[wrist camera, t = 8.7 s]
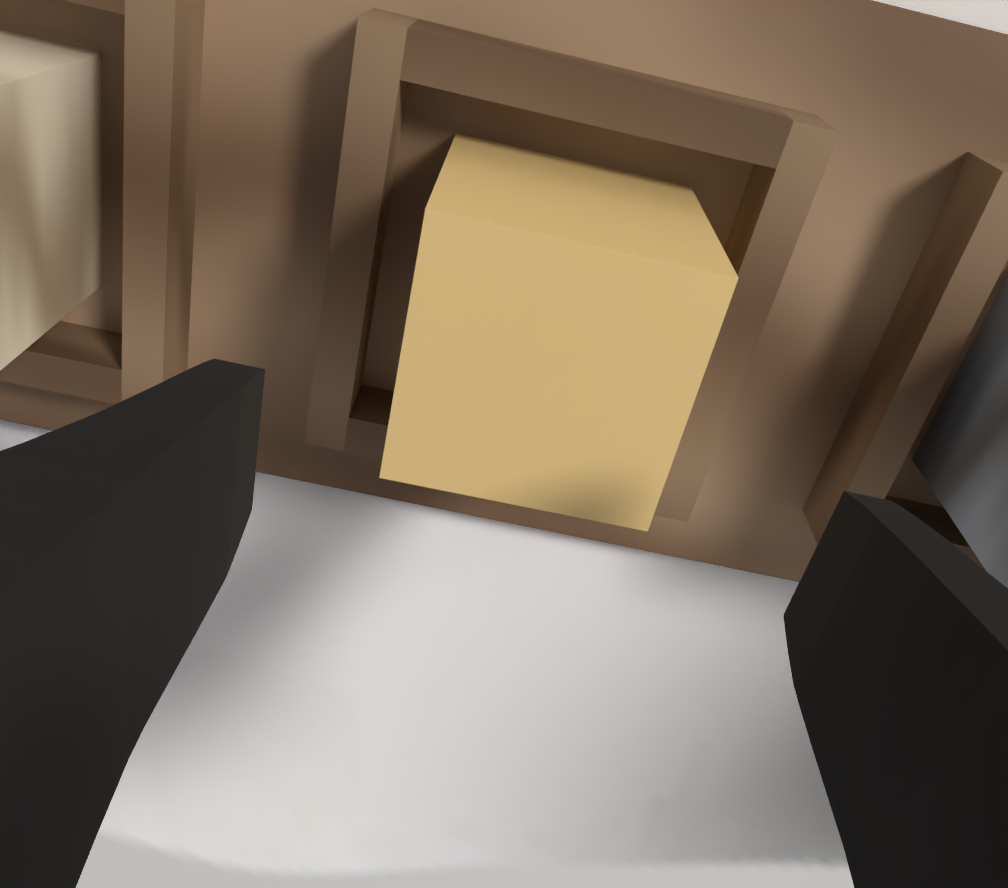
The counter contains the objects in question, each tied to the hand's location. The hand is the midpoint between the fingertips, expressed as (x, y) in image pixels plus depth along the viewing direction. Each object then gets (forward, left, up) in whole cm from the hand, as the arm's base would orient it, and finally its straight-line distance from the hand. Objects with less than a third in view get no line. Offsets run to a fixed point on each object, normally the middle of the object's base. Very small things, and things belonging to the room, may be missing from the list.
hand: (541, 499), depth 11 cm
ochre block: (0, 0, -8) cm, 8 cm away
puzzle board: (0, 0, -9) cm, 9 cm away
